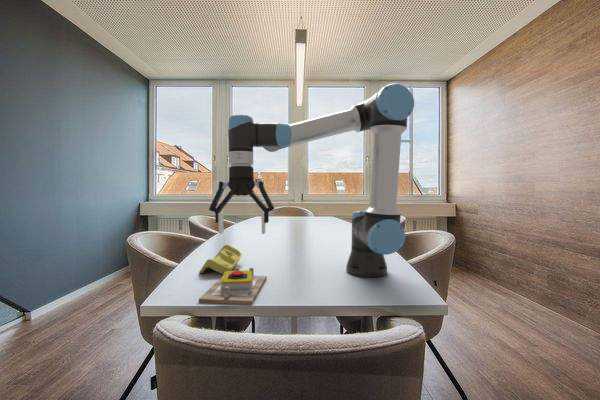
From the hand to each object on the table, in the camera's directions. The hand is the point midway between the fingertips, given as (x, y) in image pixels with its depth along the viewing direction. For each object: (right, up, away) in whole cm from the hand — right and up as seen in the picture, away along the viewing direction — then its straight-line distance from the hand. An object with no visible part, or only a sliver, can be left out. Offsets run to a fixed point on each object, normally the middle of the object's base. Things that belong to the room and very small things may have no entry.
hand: (242, 233), depth 100 cm
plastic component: (-12, -16, +23) cm, 30 cm away
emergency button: (-1, -17, -1) cm, 17 cm away
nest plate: (-2, -17, -1) cm, 18 cm away
